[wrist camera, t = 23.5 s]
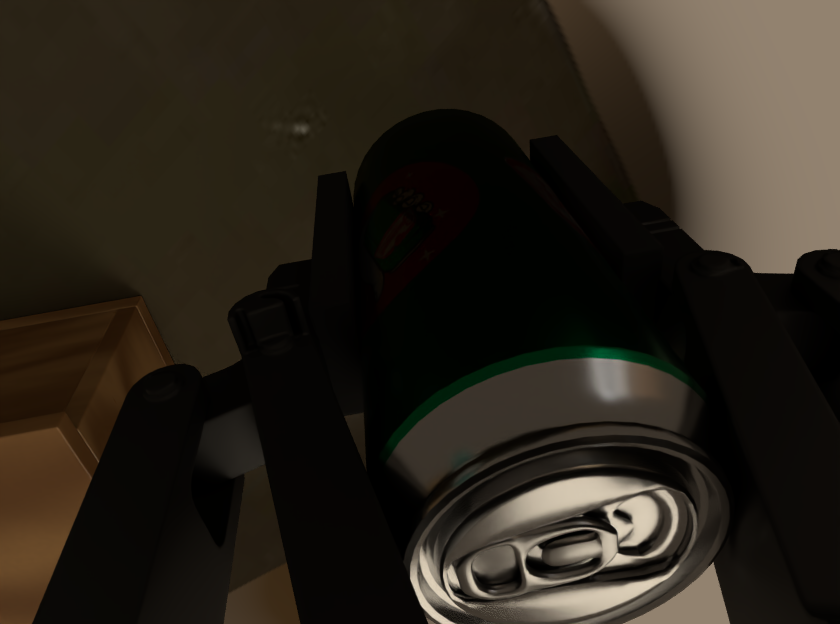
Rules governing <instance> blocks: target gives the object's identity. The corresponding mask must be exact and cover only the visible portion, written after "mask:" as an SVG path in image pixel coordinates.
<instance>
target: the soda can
mask: <svg viewBox="0 0 840 624" xmlns="http://www.w3.org/2000/svg"><path fill="white" fill-rule="evenodd" d="M353 199H354V220H355V240H356V261H357V282H358V302H359V323H360V344H361V364H362V385H363V406H364V426H365V447H366V468H367V474H368V477H369V479H370V482H371V484H372V487H373V489H374V491H375V494H376V496H377V499H378V501H379V504H380V506H381V509H382V511H383V514H384V516H385V518H386V521H387V523H388V526H389V528H390V531H391V533H392V536H393V538H394V541H395V543H396V546H397V548H398V550H399V553H400V555H401V558H402V560H403V563H404V565H405V568H406V570H407V573H408V575H409V577H410V580H411V582H412V585H413V587H414V590H415V592H416V595H417V597H418V600H419V602H420V604H421V607H422V609H423V612H424V614H425V616H426V617H427V618H428V619H430V620H431V621H433V622H434V623H436V624H622V623H625V622H627V621H630V620H632V619H634V618H636V617H639V616H641V615H643V614H645V613H647V612H649V611H651V610H652V609H654V608H656V607H658V606H660V605H661V604H663V603H665V602H667V601H668V600H670V599H671V598H672V597H674V596H676V595H677V594H678V593H680V592H681V591H683V590H684V589H685V588H686V587H688V586H689V585H690V584H691V583H692V582H694V581H695V580H696V579H697V578H698V577H699V576H700V575H701V574H702V573H703V572H704V571H705V570H706V569H707V568H708V567H709V566H710V565H711V564H712V563H713V561H714V560H715V559H716V557H717V556H718V554H719V553H720V551H721V550H722V549H723V547H724V545H725V543H726V541H727V539H728V537H729V535H730V532H731V528H732V524H733V521H734V517H735V498H734V495H733V492H732V488H731V485H730V481H729V478H728V476H727V474H726V473H725V471H724V469H723V468H722V466H721V465H720V463H719V443H720V432H719V421H718V417H717V414H716V410H715V408H714V406H713V404H712V402H711V401H710V399H709V397H708V396H707V394H706V392H705V391H704V389H703V388H702V387H701V385H700V384H699V383H698V381H697V380H696V379H695V377H694V376H693V375H692V373H691V372H690V371H689V369H688V368H687V367H686V366H685V364H684V363H683V362H682V360H681V359H680V358H679V356H678V355H677V354H676V352H675V351H674V350H673V348H672V347H671V346H670V344H669V343H668V342H667V340H666V339H665V338H664V337H663V335H662V334H661V333H660V331H659V330H658V329H657V327H656V326H655V325H654V323H653V322H652V321H651V319H650V318H649V317H648V315H647V314H646V313H645V312H644V310H643V309H642V308H641V306H640V305H639V304H638V302H637V301H636V300H635V298H634V297H633V296H632V294H631V293H630V292H629V290H628V289H627V288H626V286H625V285H624V284H623V283H622V281H621V280H620V279H619V277H618V276H617V275H616V273H615V272H614V271H613V269H612V268H611V267H610V265H609V264H608V263H607V261H606V260H605V259H604V258H603V256H602V255H601V254H600V252H599V251H598V250H597V248H596V247H595V246H594V244H593V243H592V242H591V240H590V239H589V238H588V236H587V235H586V234H585V232H584V231H583V230H582V229H581V227H580V226H579V225H578V223H577V222H576V221H575V219H574V218H573V217H572V215H571V214H570V213H569V211H568V210H567V209H566V207H565V206H564V205H563V204H562V202H561V201H560V200H559V198H558V197H557V196H556V194H555V193H554V192H553V190H552V189H551V188H550V186H549V185H548V184H547V182H546V181H545V180H544V178H543V177H542V176H541V175H540V173H539V172H538V171H537V169H536V168H535V167H534V165H533V164H532V163H531V161H530V160H529V159H528V157H527V156H526V155H525V153H524V152H523V151H522V150H521V148H520V147H519V146H518V144H517V143H516V142H515V140H514V139H513V138H512V137H511V136H510V135H509V134H508V133H507V132H506V130H504V129H503V128H502V127H500V126H499V125H498V124H496V123H495V122H494V121H492V120H490V119H488V118H486V117H484V116H482V115H479V114H476V113H473V112H469V111H464V110H457V109H437V110H431V111H426V112H422V113H419V114H416V115H413V116H410V117H408V118H406V119H404V120H402V121H401V122H399V123H397V124H395V125H394V126H393V127H391V128H390V129H389V130H387V131H386V132H385V133H383V134H382V135H381V137H380V138H379V139H378V140H377V141H376V142H375V143H374V144H373V145H372V147H371V148H370V150H369V151H368V152H367V154H366V155H365V157H364V159H363V161H362V163H361V165H360V168H359V170H358V173H357V177H356V181H355V186H354V195H353Z"/></svg>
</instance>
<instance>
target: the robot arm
mask: <svg viewBox="0 0 840 624" xmlns="http://www.w3.org/2000/svg"><path fill="white" fill-rule="evenodd" d="M530 161H531V163H532V164H533V165H534V167H535V168H536V169H537V171H538V172H539V173H540V175H541V176H542V177H543V178H544V180H545V181H546V182H547V184H548V185H549V186H550V188H551V189H552V190H553V192H554V193H555V194H556V196H557V197H558V198H559V200H560V201H561V202H562V204H563V205H564V206H565V207H566V209H567V210H568V211H569V213H570V214H571V215H572V217H573V218H574V219H575V221H576V222H577V223H578V225H579V226H580V227H581V229H582V230H583V231H584V232H585V234H586V235H587V236H588V238H589V239H590V240H591V242H592V243H593V244H594V246H595V247H596V248H597V250H598V251H599V252H600V254H601V255H602V256H603V258H604V259H605V260H606V261H607V263H608V264H609V265H610V267H611V268H612V269H613V271H614V272H615V273H616V275H617V276H618V277H619V279H620V280H621V281H622V283H623V284H624V285H625V286H626V288H627V289H628V290H629V292H630V293H631V294H632V296H633V297H634V298H635V300H636V301H637V302H638V304H639V305H640V306H641V308H642V309H643V310H644V312H645V313H646V314H647V315H648V317H649V318H650V319H651V321H652V322H653V323H654V325H655V326H656V327H657V329H658V330H659V331H660V333H661V334H662V335H663V337H664V338H665V339H666V340H667V342H668V343H669V344H670V346H671V347H672V348H673V350H674V351H675V352H676V354H677V355H678V356H679V358H680V359H681V360H682V362H683V363H684V364H685V366H686V367H687V368H688V369H689V371H690V372H691V373H692V375H693V376H694V377H695V379H696V380H697V381H698V383H699V384H700V385H701V387H702V388H703V389H704V391H705V392H706V394H707V396H708V397H709V399H710V401H711V402H712V404H713V406H714V408H715V410H716V414H717V417H718V421H719V432H720V443H719V463H720V465H721V466H722V468H723V469H724V471H725V473H726V474H727V476H728V478H729V481H730V485H731V488H732V492H733V495H734V498H735V517H734V521H733V524H732V528H731V532H730V535H729V537H728V539H727V541H726V543H725V545H724V547H723V549H722V550H721V551H720V553H719V554H718V556H717V557H716V559H715V560H714V561H713V562H714V565H715V569H716V573H717V577H718V580H719V584H720V588H721V591H722V595H723V599H724V602H725V606H726V610H727V613H728V617H729V621H730V624H840V250H837V249H828V250H815V251H812V252H808V253H805V254H803V255H802V256H801V257H800V258H799V259H798V260H797V264H796V267H795V271H794V274H776V273H775V274H773V273H753V271H752V269H751V268H750V266H749V265H748V264H747V263H746V262H745V261H744V260H743V259H741V258H739V257H737V256H735V255H733V254H730V253H725V252H721V251H711V250H703V249H702V248H701V247H700V246H699V245H698V244H697V243H696V242H695V241H694V240H693V239H692V238H691V237H689V235H687V234H686V233H685V232H684V231H683V230H682V229H679V226H678V225H677V224H676V223H675V222H674V221H671V220H670V218H669V217H668V216H667V215H666V214H665V213H664V212H663V211H662V210H661V209H660V208H658V207H655V206H652V205H650V204H648V203H646V202H643V201H637V202H631V203H626V204H622V203H621V202H620V201H619V199H618V198H617V197H616V196H615V195H614V194H613V193H612V192H611V191H610V190H609V189H608V188H607V187H606V186H605V185H604V184H603V183H602V182H601V181H600V180H599V179H598V178H597V177H596V175H595V174H594V173H593V172H592V171H591V170H590V169H589V168H588V167H587V166H586V165H585V164H584V163H583V162H582V161H581V160H580V159H579V158H578V157H577V156H576V155H575V154H574V153H573V151H572V150H571V149H570V148H569V147H568V146H567V145H566V144H565V143H564V142H563V141H562V140H561V139H560V138H559V137H558V136H557V135H555V136H549V137H543V138H537V139H531V140H530ZM227 320H228V323H229V325H230V328H231V330H232V333H233V335H234V338H235V340H236V343H237V345H238V348H239V351H240V353H241V356H242V359H241V360H240V361H238V362H237V363H235V364H234V365H232V366H230V367H227V368H225V369H223V370H221V371H218V372H215V373H213V374H210V375H208V376H205V377H203V378H202V376H201V374H200V372H199V371H198V370H197V369H196V368H195V367H194V366H190V365H186V364H176V365H169V366H166V367H162V368H159V369H156V370H154V371H153V372H150V373H148V374H147V375H145V376H143V377H142V378H141V379H140V380H139V381H137V382H136V383H135V384H134V385H133V386H132V388H131V389H130V390H129V392H128V393H127V395H126V397H125V400H124V402H123V405H122V407H121V410H120V412H119V414H118V417H117V419H116V422H115V424H114V426H113V429H112V431H111V434H110V436H109V439H108V441H107V443H106V446H105V448H104V451H103V453H102V455H101V458H100V460H99V463H98V465H97V468H96V470H95V472H94V475H93V477H92V480H91V482H90V484H89V487H88V489H87V492H86V494H85V497H84V499H83V501H82V504H81V506H80V509H79V511H78V514H77V516H76V518H75V521H74V523H73V526H72V528H71V530H70V533H69V535H68V538H67V540H66V543H65V545H64V547H63V550H62V552H61V555H60V557H59V559H58V562H57V564H56V567H55V569H54V572H53V574H52V576H51V579H50V581H49V584H48V586H47V588H46V591H45V593H44V596H43V598H42V601H41V603H40V605H39V608H38V610H37V613H36V615H35V618H34V620H33V622H32V624H223V623H224V616H225V610H226V603H227V596H228V589H229V582H230V575H231V568H232V562H233V555H234V548H235V541H236V534H237V527H238V520H239V513H240V506H241V499H242V492H243V486H244V479H245V477H244V473H247V472H249V471H251V470H253V469H256V468H258V467H260V466H262V465H266V469H267V474H268V479H269V483H270V488H271V492H272V497H273V501H274V506H275V510H276V515H277V519H278V524H279V528H280V533H281V538H282V542H283V547H284V551H285V556H286V560H287V565H288V569H289V573H290V578H291V583H292V587H293V592H294V596H295V601H296V605H297V610H298V615H299V619H300V623H301V624H428V622H427V619H426V617H425V614H424V612H423V609H422V607H421V604H420V602H419V600H418V597H417V595H416V592H415V590H414V587H413V585H412V582H411V580H410V577H409V575H408V573H407V570H406V568H405V565H404V563H403V560H402V558H401V555H400V553H399V550H398V548H397V546H396V543H395V541H394V538H393V536H392V533H391V531H390V528H389V526H388V523H387V521H386V518H385V516H384V514H383V511H382V509H381V506H380V504H379V501H378V499H377V496H376V494H375V491H374V489H373V487H372V484H371V482H370V479H369V477H368V474H367V472H366V469H365V467H364V464H363V462H362V460H361V457H360V455H359V452H358V450H357V447H356V445H355V442H354V440H353V437H352V435H351V433H350V430H349V428H348V425H347V423H346V420H345V418H344V416H346V415H352V414H357V413H363V412H364V406H363V385H362V364H361V344H360V323H359V302H358V282H357V261H356V240H355V220H354V207H353V202H352V197H351V193H350V188H349V183H348V179H347V174H346V171H343V172H338V173H332V174H326V175H320V176H318V187H317V199H316V212H315V225H314V237H313V250H312V259H310V260H304V261H298V262H293V263H287V264H281V265H279V266H278V267H277V268H276V269H275V271H274V272H273V273H272V274H271V275H270V276H269V278H268V283H267V288H266V290H262V291H258V292H255V293H253V294H251V295H248V296H246V297H244V298H243V299H241V300H240V301H238V302H237V303H235V305H234V306H233V307H232V308H231V310H230V311H229V313H228V319H227Z"/></svg>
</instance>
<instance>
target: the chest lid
mask: <svg viewBox="0 0 840 624" xmlns="http://www.w3.org/2000/svg"><path fill="white" fill-rule="evenodd" d="M98 463H99V462H98V461H97V459H96V458H95V456H94V455H93V453H92V452H91V450H90V449H89V447H88V446H87V444H86V443H85V441H84V440H83V438H82V437H81V435H80V434H79V432H78V431H77V429H76V428H75V426H74V424H73V423H72V421H71V420H70V418H69V417H68V415H67V414H66V412H60V413H55V414H49V415H44V416H38V417H33V418H27V419H22V420H17V421H11V422H6V423H0V624H32V622H33V620H34V618H35V615H36V613H37V610H38V608H39V605H40V603H41V601H42V598H43V596H44V593H45V591H46V588H47V586H48V584H49V581H50V579H51V576H52V574H53V572H54V569H55V567H56V564H57V562H58V559H59V557H60V555H61V552H62V550H63V547H64V545H65V543H66V540H67V538H68V535H69V533H70V530H71V528H72V526H73V523H74V521H75V518H76V516H77V514H78V511H79V509H80V506H81V504H82V501H83V499H84V497H85V494H86V492H87V489H88V487H89V484H90V482H91V480H92V477H93V475H94V472H95V470H96V468H97V465H98Z"/></svg>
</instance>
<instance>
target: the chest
mask: <svg viewBox="0 0 840 624" xmlns="http://www.w3.org/2000/svg"><path fill="white" fill-rule="evenodd" d="M169 365H175V364H174V362H173V360H172V358H171V356H170V354H169V352H168V350H167V348H166V346H165V344H164V342H163V340H162V338H161V336H160V333H159V331H158V329H157V327H156V325H155V323H154V321H153V319H152V317H151V315H150V313H149V311H148V309H147V307H146V305H145V303H144V300H143V298H142V296H137V297H131V298H125V299H120V300H114V301H109V302H103V303H98V304H92V305H86V306H81V307H75V308H70V309H64V310H58V311H53V312H47V313H42V314H36V315H30V316H25V317H19V318H14V319H8V320H2V321H0V423H6V422H11V421H17V420H22V419H27V418H33V417H38V416H44V415H49V414H55V413H60V412H66V414H67V415H68V417H69V418H70V420H71V421H72V423H73V424H74V426H75V428H76V429H77V431H78V432H79V434H80V435H81V437H82V438H83V440H84V441H85V443H86V444H87V446H88V447H89V449H90V450H91V452H92V453H93V455H94V456H95V458H96V459H97V461H98V462H99V460H100V458H101V455H102V453H103V451H104V448H105V446H106V443H107V441H108V439H109V436H110V434H111V431H112V429H113V426H114V424H115V422H116V419H117V417H118V414H119V412H120V410H121V407H122V405H123V402H124V400H125V397H126V395H127V393H128V392H129V390H130V389H131V388H132V386H133V385H134V384H135V383H136V382H137V381H139V380H140V379H141V378H142V377H143V376H145V375H147V374H148V373H150V372H153V371H154V370H156V369H159V368H162V367H166V366H169Z"/></svg>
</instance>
